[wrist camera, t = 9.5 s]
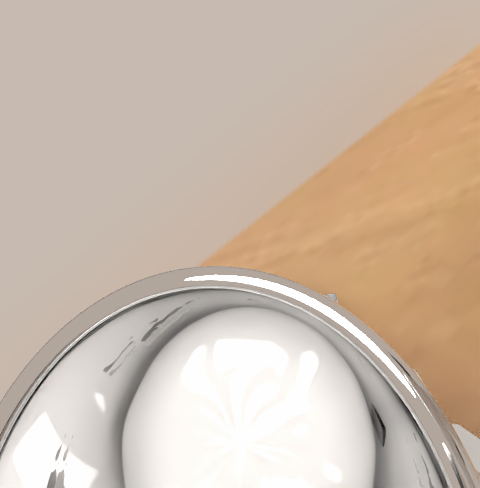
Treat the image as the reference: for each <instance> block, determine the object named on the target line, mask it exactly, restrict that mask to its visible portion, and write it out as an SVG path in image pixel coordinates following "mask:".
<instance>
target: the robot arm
mask: <svg viewBox="0 0 480 488" xmlns="http://www.w3.org/2000/svg"><path fill="white" fill-rule="evenodd" d="M412 369H413V368H412ZM413 370H414V369H413ZM414 372H415V373H416V374H417V375H418V377H419V378H420V379H421V377H420V376H419V374H418V373H417V371H416V370H414ZM421 380H422V379H421ZM422 382H423V380H422ZM423 383H424V382H423ZM424 384H425V383H424ZM425 386H426V385H425ZM426 387H427V386H426ZM428 390H429V389H428ZM371 408H372V421H373V425H374V427H375V430H376V432H377V435H378V437H379V440H380V442H381V445H382V447H383V444H384V427H383V425H382V423H381V421H380V418H379V416H378V414H377V412H376V410H375V408H374V406H373V405H372V403H371ZM452 426H453V428H454V429H455V431H456V433H457V435H458V436H459V438H460V440H461V442H462V444H463V446H464V448H465V450H466V452H467V453H468V455H469V457H470V460H471V462H472V464H473V466H474V468H475V470H476V472H477V474H478V477H479V479H480V439H479V438H478V437H476V436H475V435H473V434H472V433H470V432H469V431H467V430H466V429H464V428H463V427H462V426H460V425H459V424H452Z"/></svg>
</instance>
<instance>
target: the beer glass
mask: <svg viewBox="0 0 480 488" xmlns="http://www.w3.org/2000/svg"><path fill="white" fill-rule="evenodd" d="M371 403H372V405H373V406H374V408H375V410H376V412H377V414H378V416H379V418H380V421H381V423H382V425H383V427H384V444H383V447H382V445H381V442H380V440H379V437H378V435H377V432H376V430H375V427H374V425H373V421H372V408H371ZM0 488H480V479H479V477H478V474H477V472H476V470H475V468H474V466H473V464H472V462H471V460H470V457H469V455H468V453H467V452H466V450H465V448H464V446H463V444H462V442H461V440H460V438H459V436H458V435H457V433H456V431H455V429H454V428H453V426H452V424H451V423H450V421H449V419H448V418H447V416H446V415H445V413H444V411H443V410H442V408H441V407H440V405H439V404H438V402H437V401H436V400H435V398H434V397H433V395H432V394H431V392H430V391H429V390H428V388H427V387H426V386H425V384H424V383H423V382H422V380H421V379H420V378H419V377H418V375H417V374H416V373H415V372H414V370H413V369H412V368H411V367H410V366H409V365H408V364H407V363H406V361H405V360H404V359H403V358H402V357H401V356H400V355H399V354H398V353H397V352H396V351H395V350H394V349H393V348H392V347H391V346H390V345H389V344H388V343H387V342H386V341H385V340H384V339H383V338H382V337H381V336H380V335H379V334H378V333H376V332H375V331H374V330H373V329H372V328H371V327H369V326H368V325H367V324H366V323H365V322H363V321H362V320H361V319H359V318H358V317H357V316H355V315H354V314H353V313H351V312H350V311H348V310H347V309H346V308H344V307H343V306H341V305H339V304H338V303H336V302H335V301H333V300H331V299H330V298H328V297H326V296H324V295H322V294H320V293H319V292H317V291H315V290H313V289H311V288H308V287H306V286H304V285H302V284H299V283H297V282H294V281H292V280H289V279H286V278H283V277H280V276H277V275H273V274H270V273H265V272H261V271H257V270H251V269H245V268H237V267H223V266H207V267H193V268H185V269H178V270H174V271H169V272H165V273H161V274H157V275H154V276H151V277H147V278H144V279H142V280H139V281H136V282H134V283H132V284H129V285H127V286H125V287H123V288H121V289H119V290H117V291H115V292H113V293H111V294H109V295H108V296H106V297H104V298H102V299H101V300H99V301H97V302H96V303H94V304H93V305H91V306H90V307H88V308H87V309H85V310H84V311H83V312H81V313H80V314H79V315H77V316H76V317H75V318H74V319H72V320H71V321H70V322H69V323H67V324H66V325H65V326H64V327H63V328H62V329H61V330H59V331H58V332H57V333H56V334H55V335H54V336H53V337H52V338H51V339H50V340H49V341H48V342H47V343H46V344H45V345H44V346H43V347H42V348H41V349H40V350H39V352H38V353H37V354H36V355H35V356H34V357H33V359H32V360H31V361H30V362H29V363H28V364H27V366H26V367H25V368H24V369H23V371H22V372H21V373H20V374H19V376H18V377H17V379H16V380H15V381H14V383H13V384H12V386H11V387H10V389H9V390H8V391H7V393H6V394H5V396H4V397H3V399H2V400H1V402H0Z"/></svg>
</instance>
